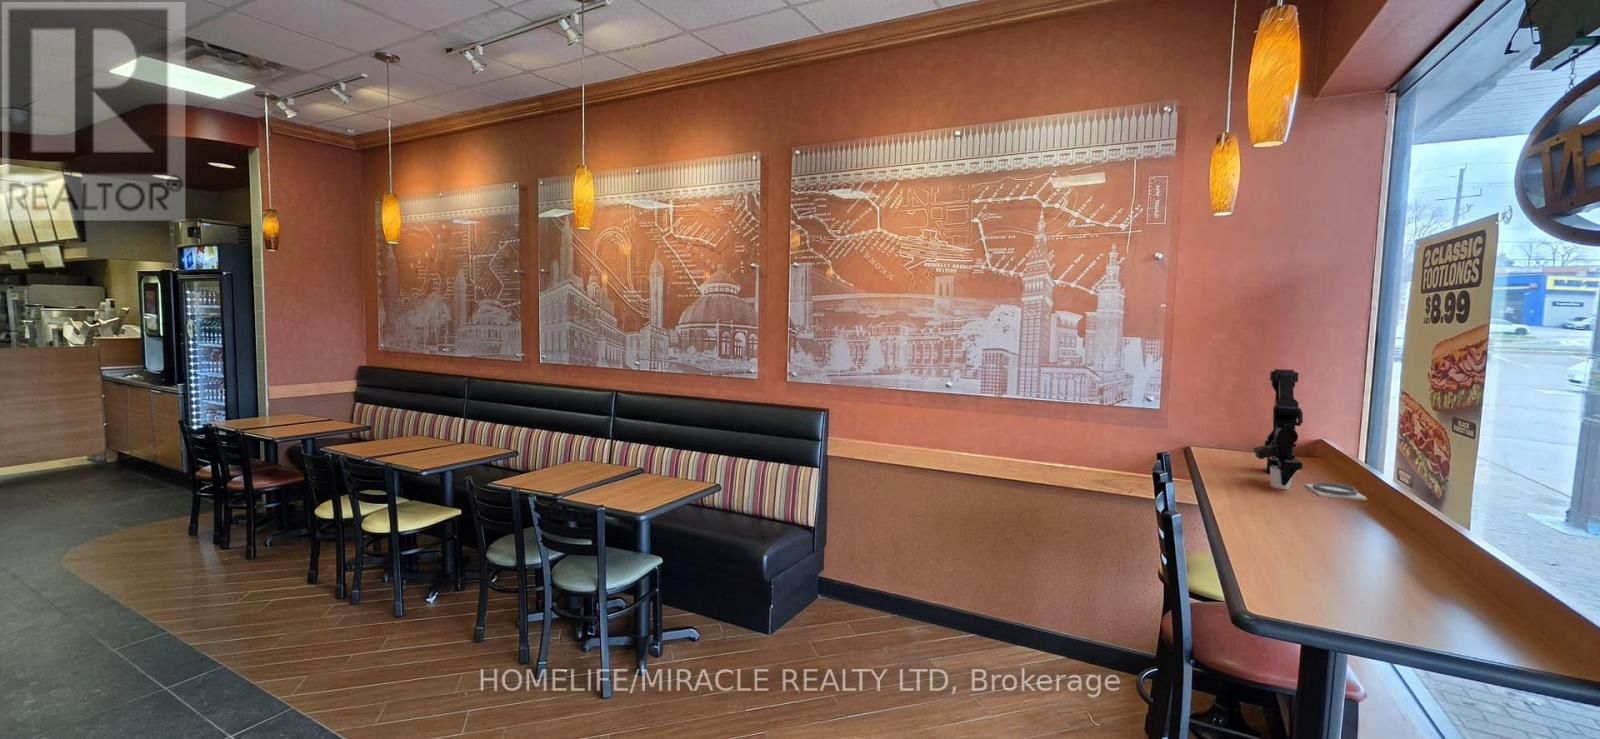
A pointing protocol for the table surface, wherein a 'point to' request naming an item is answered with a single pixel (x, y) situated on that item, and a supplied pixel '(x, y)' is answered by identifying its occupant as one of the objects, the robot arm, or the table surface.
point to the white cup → (1277, 478)
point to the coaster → (1335, 490)
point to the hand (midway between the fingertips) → (1280, 482)
